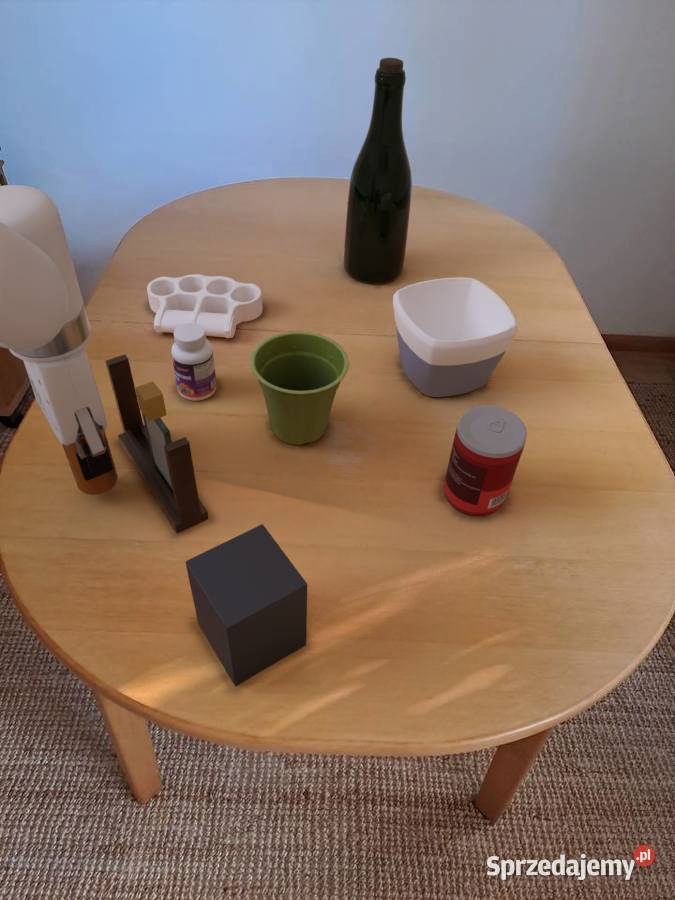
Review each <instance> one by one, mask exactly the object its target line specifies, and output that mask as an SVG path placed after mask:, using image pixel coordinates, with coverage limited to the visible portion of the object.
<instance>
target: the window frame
mask: <svg viewBox="0 0 675 900" xmlns="http://www.w3.org/2000/svg"><path fill="white" fill-rule="evenodd" d="M104 363H105V366H106V369H107V373H108V377H109V381H110V385H111V389H112V392H113V396H114V400H115V404H116V408H117V412H118V416H119V419H120V423H121V428H122V431H123V432H122V433H120V434H117V437H118V441H119V444H120V446H121V448H122V449H123V451H124V452H125V454H126V456H127V457H128V459H129V460H130V462H131V463H132V465H133V467H134V468H135V470H136V472H137V473H138V474H139V476H140V478H141V479H142V481H143V483H144V484H145V486H146V487H147V489H148V490H149V492H150V494H151V496H152V497H153V499H154V500H155V501H156V503H157V505H158V506H159V508H160V510H161V511H162V513H163V515H164V516H165V518H166V519H167V521H168V522H169V524H170V525H171V527H172V529H173V530H174V532H175V533H176V535H178V534H180V533H182V532H184V531H186V530H188V529H191V528H193V527H195V526H197V525H200V524H201V523H203V522H206V521H208V520H209V519H210V517H209V511H208V509H207V508H206V506H205V505H204V504H203V502H202V501H201V499H200V498H199V493H198V487H197V479H196V473H195V469H194V462H193V456H192V450H191V444H190V441H189V440H188V439H187V437H185V436H184V437H182V438H179V439H176V440H174V441H172V442H171V443H169V444H167V445H164V450H165V455H166V460H167V465H168V470H169V475H170V479H171V484H172V489H173V493H172V491H171V490H170V488H169V487H168V485H167V484H166V482H165V481H164V479H163V478H162V476H161V474H160V473H159V471H158V470H157V468H156V467H155V465H154V464H153V460H152V455H151V451H150V446H149V442H148V438H147V433H146V429H145V424H144V420H143V416H142V411H141V410H140V407H139V402H138V398H137V393H136V389H135V388H136V386H135V381H134V378H133V373H132V369H131V364H130V359H129V357H128V356H127V354H121V355H118V356H116V357H113V358H109V359H106V360H105V361H104Z"/></svg>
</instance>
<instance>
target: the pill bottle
mask: <svg viewBox="0 0 675 900" xmlns="http://www.w3.org/2000/svg"><path fill="white" fill-rule="evenodd" d="M173 339H174V342H173V344H172V346H171V350H170V353H171V359H172V366H173V371H174V377H175V384H176V388H177V392H178V394H179V395H180V396H181V397H182V398H184V399H185V400H189V401H195V402H196V401H197V402H198V401H203V400H206V399H208V398H210V397H212V396H213V394H214V393H215V392H216V390H217V387H218V385H217V375H216V374H217V373H216V366H215V358H214V357H215V356H214V349H213V348H214V347H213V345H212V343H211V341H209V339H207V336H206V335H205V330H204V328H203V327H202V326H201V325H199V324H196V323H185V324H182V325H180V326H178V327H177V328H176V329H175V330H174V333H173Z"/></svg>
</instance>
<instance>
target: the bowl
mask: <svg viewBox="0 0 675 900" xmlns="http://www.w3.org/2000/svg"><path fill="white" fill-rule="evenodd" d="M392 308H393V315H394V323H395V329H396V336H397V337H396V338H397V343H398V351H399V358H400V364H401V367H402V369H403V372H404V374H405V376H406V378H407V379H408V380H409V382H410V383H411V384H412V385H413V386H414V387H415V388H416V389H417V390H418V391H419V392H421V393H422V394H423V395H425V396H426V397H431V398H442V397H452V396H453V397H454V396H458V395H464V394H468V393H470V392H473V391H475V390H478V389H480V388H482V387H484V386H485V385H486V384H487V383H488V381H489V379H490V378H491V376H492V375H493V372H494V371H495V369H496V368H497V366H498V364H499V363H500V362H501V360H502V358H503V357H504V355H505V353H506V352H507V350H508V349H509V347H510V345H511V344H512V342H513V341H514V339H515V337H516V336H517V334H518V333H519V329H518V325H517V320H516V317H515V315H514V314H513V312H512V311H511V309H510V308H509V306H508V305H507V304H506V302H505V301H504V300H503V299H502V297H500V296H499V295H498V294H497V293H496V292H495V291H494V290H492V289H491V288H490V287H489V286H488V285H486V284H485V283H483V282H481V281H480V280H478V279H476V278H474V277H462V276H458V277H445V278H443V277H442V278H435V279H429V280H424V281H421V282H415V283H412V284H409V285H406V286H404V287H402V288H399V289H397V290H396V291H395V292H394V293H393V295H392Z"/></svg>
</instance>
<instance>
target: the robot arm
mask: <svg viewBox="0 0 675 900" xmlns="http://www.w3.org/2000/svg"><path fill="white" fill-rule="evenodd" d="M72 258H73V257H72V255H71V250H70V248H69V243H68V240H67V236H66V233H65V228H64V225H63V221H62V218H61V214H60V211H59V209H58V207H57V205H56V203H55V201H54V200H53V199H52V197H51V196H49V195H48V194H47V193H46V192H44V191H43V190H41V189H38V188H37V187H36V188H35V187H33V186H29V185H22V184H7V185H6V184H5V185H0V348H4V349H7V350H9V352H10V353H11V355H13V356H14V357H16V358H17V359H19V360H21V361H23V364H24V367H25V370H26V373H27V377H28V379H29V382H30V385H31V388H32V391H33V395H34V397H35V399H36V402H37V404H38V406H39V408H40V410H41V412H42V413H43V415H44V417H45V419H46V421H47V423H48V425H49V426H50V429H51V430H52V432H53V434H54V435H55V438H56V439H57V440H58V441H59V443H60V444H61V445H62V444H64V445H69V444H72V443H74V444H75V446H76V449H77V452H78V453H75V455H76V457H77V460H78V463H79V466H80V469H81V472H82V475H83V477H84V479H85V480H86V481H88V480H91V479H93V478H96V477H98V476H101V475H103V474H106V473H108V472H110V471H112V470H113V466H112V463H111V459H110V456H109V452H108V449H107V446H106V444H105V442H104V440H103V437H102V434H101V431H100V430H102V431H105V432H106V429H107V428H108V421H107V417H106V413H105V408H104V405H103V402H102V398H101V395H100V392H99V388H98V385H97V382H96V378H95V374H94V372H93V368H92V365H91V363H90V360H89V356H88V353H87V350H86V347H87V345H88V344H89V343H90V340H91V339H92V328H91V324H90V321H89V318H88V314H87V310H86V307H85V303H84V299H83V296H82V292H81V288H80V284H79V281H78V276H77V272H76V270H75V266H74V262H73V259H72ZM79 426H80V427H79ZM78 427H79V428H78ZM81 437H84V438H85V440H86V442H87V444H86V445H83V446H82V444H81V442H80V439H79V438H81Z"/></svg>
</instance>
